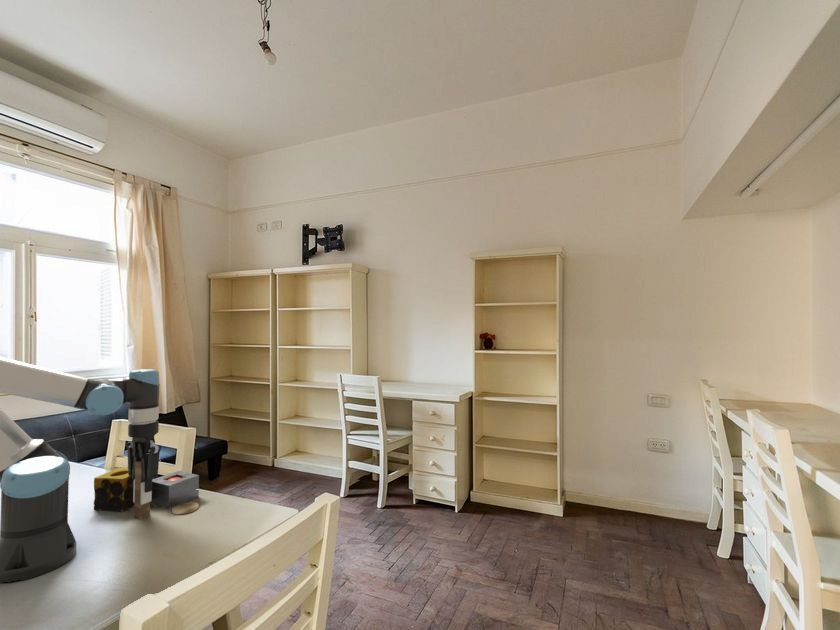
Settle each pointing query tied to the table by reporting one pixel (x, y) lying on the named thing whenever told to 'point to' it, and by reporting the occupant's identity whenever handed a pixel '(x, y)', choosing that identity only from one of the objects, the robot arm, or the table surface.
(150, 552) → the table surface
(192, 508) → the coaster
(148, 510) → the dowel
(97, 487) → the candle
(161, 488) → the box
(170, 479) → the orange ball
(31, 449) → the robot arm
